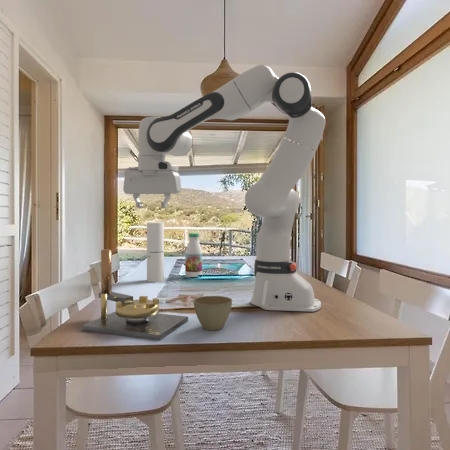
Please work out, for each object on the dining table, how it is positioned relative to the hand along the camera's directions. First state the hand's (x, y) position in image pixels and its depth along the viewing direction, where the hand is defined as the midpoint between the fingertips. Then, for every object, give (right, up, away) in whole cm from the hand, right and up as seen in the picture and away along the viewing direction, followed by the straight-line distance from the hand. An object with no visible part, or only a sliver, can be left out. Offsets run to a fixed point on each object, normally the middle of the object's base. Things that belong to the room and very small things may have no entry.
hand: (151, 207), depth 124 cm
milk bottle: (+10, -30, +44) cm, 54 cm away
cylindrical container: (-5, -30, +34) cm, 46 cm away
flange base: (+2, -32, -28) cm, 43 cm away
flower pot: (+22, -33, -29) cm, 49 cm away
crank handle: (-2, -28, -25) cm, 38 cm away
